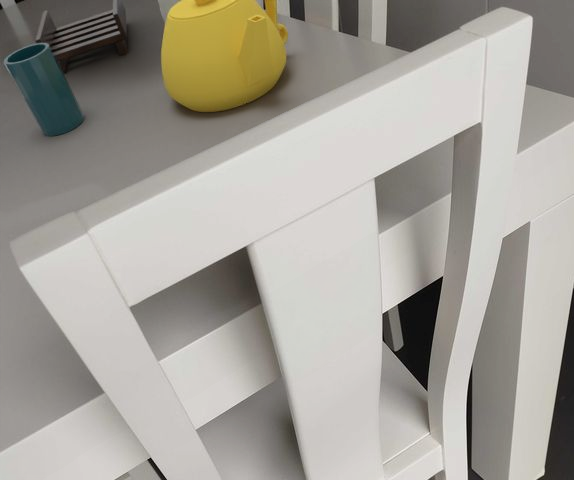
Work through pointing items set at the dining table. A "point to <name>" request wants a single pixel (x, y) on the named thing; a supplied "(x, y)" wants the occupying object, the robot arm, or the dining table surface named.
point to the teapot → (221, 52)
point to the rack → (84, 34)
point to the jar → (166, 7)
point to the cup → (44, 88)
